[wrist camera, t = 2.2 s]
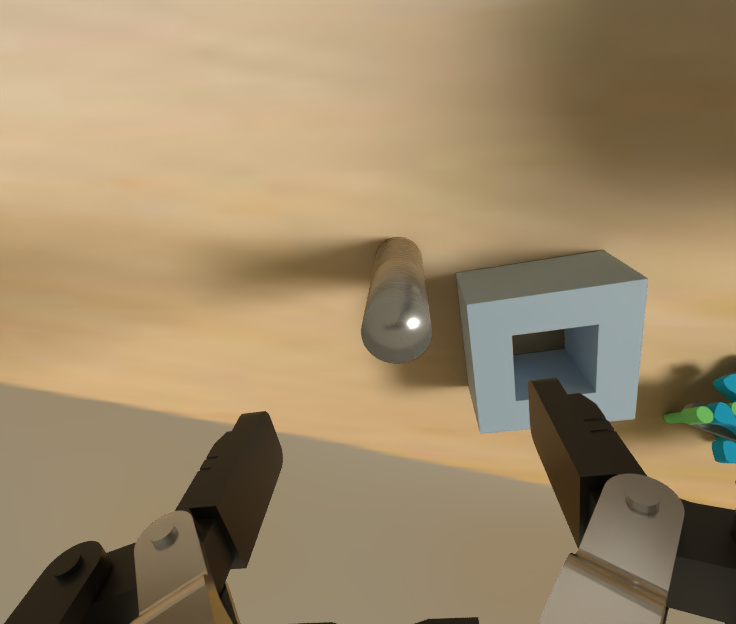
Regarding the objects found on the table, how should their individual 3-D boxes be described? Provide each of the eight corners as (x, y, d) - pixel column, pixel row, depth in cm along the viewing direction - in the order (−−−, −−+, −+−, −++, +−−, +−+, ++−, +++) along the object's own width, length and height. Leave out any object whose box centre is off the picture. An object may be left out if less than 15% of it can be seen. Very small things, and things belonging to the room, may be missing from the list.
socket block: (455, 273, 26) (466, 304, 22) (603, 250, 25) (648, 278, 20) (468, 386, 30) (480, 433, 25) (598, 371, 28) (634, 419, 24)
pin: (371, 241, 26) (354, 306, 17) (418, 233, 25) (427, 295, 16) (379, 284, 27) (368, 367, 18) (424, 277, 26) (436, 358, 17)
